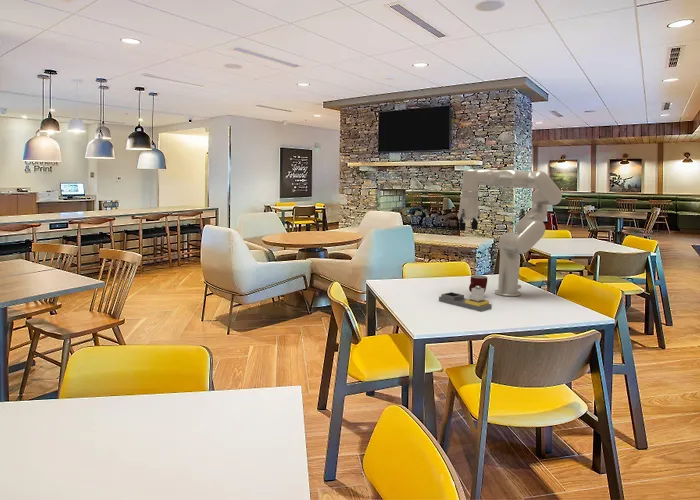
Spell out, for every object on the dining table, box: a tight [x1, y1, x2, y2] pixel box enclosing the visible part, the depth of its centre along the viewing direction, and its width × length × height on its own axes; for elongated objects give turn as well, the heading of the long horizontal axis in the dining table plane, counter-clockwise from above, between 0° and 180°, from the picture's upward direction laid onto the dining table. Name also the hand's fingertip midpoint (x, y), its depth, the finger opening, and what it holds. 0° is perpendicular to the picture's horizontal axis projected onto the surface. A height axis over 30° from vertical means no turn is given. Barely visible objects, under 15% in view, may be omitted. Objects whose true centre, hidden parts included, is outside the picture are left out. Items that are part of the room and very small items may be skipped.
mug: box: [468, 275, 488, 294], centre depth 246 cm, size 11×8×10 cm
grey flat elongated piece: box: [438, 291, 493, 312], centre depth 230 cm, size 8×24×4 cm, turn 40°
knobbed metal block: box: [470, 286, 485, 303], centre depth 224 cm, size 4×4×8 cm
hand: (468, 230), depth 242 cm, fingers open, 9 cm apart
